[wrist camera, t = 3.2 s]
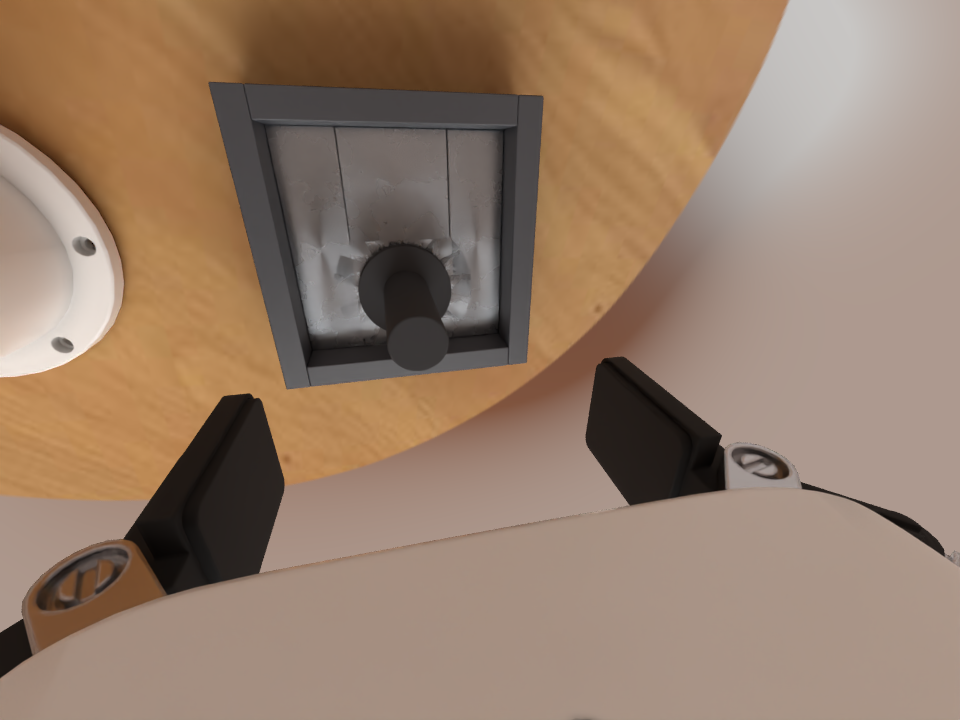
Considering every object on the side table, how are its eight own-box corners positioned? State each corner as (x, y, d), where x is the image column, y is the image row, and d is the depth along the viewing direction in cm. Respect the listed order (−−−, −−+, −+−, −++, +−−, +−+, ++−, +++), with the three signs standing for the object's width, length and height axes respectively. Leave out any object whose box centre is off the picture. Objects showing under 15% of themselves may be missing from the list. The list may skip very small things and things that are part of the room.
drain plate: (318, 346, 24) (313, 360, 22) (273, 127, 19) (263, 124, 17) (490, 330, 26) (499, 342, 25) (494, 132, 21) (504, 129, 19)
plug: (365, 322, 24) (360, 407, 16) (354, 238, 22) (341, 286, 14) (446, 316, 25) (481, 392, 17) (443, 235, 23) (481, 277, 15)
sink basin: (299, 357, 24) (286, 389, 21) (239, 97, 18) (207, 81, 15) (507, 337, 27) (527, 363, 23) (516, 106, 21) (544, 95, 17)
